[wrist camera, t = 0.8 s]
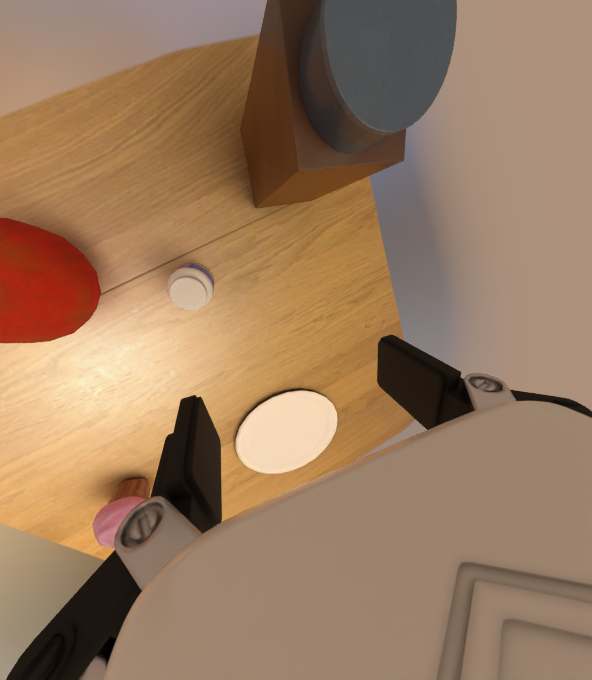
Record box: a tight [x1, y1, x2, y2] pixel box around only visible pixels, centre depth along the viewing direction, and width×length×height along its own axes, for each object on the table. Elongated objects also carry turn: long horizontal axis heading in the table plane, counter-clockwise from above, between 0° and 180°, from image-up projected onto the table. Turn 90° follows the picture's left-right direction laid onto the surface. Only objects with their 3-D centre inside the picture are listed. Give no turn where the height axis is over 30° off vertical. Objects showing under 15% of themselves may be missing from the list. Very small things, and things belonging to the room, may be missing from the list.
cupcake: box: [93, 478, 150, 547], centre depth 41 cm, size 9×9×10 cm
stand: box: [241, 0, 406, 208], centre depth 23 cm, size 9×9×20 cm
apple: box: [0, 218, 101, 343], centre depth 23 cm, size 12×12×14 cm
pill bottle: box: [167, 263, 214, 311], centre depth 30 cm, size 5×5×10 cm
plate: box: [236, 390, 337, 474], centre depth 53 cm, size 25×25×1 cm
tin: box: [299, 0, 457, 154], centre depth 13 cm, size 8×8×4 cm
